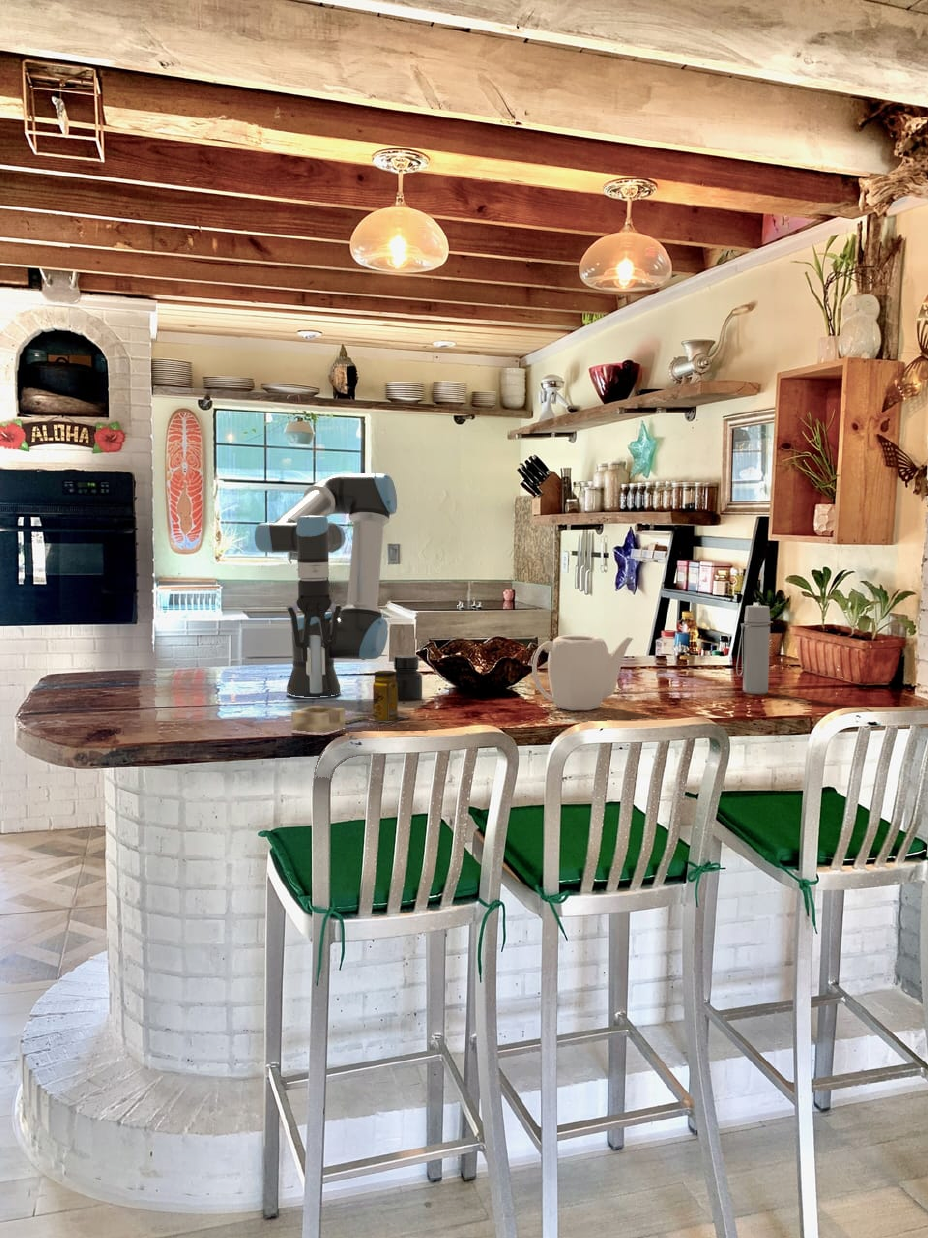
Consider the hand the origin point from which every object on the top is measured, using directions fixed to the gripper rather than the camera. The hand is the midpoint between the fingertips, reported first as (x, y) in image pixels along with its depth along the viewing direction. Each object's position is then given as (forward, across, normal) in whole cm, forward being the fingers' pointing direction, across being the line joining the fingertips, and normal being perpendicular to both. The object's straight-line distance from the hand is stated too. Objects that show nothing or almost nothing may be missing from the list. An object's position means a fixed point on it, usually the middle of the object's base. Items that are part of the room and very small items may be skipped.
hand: (315, 674), depth 238 cm
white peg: (+5, 0, 0) cm, 5 cm away
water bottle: (+13, +126, 0) cm, 127 cm away
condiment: (+12, +17, -4) cm, 21 cm away
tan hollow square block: (+11, -2, -14) cm, 18 cm away
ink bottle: (+13, +29, +21) cm, 38 cm away
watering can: (+13, +70, -6) cm, 71 cm away
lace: (+12, +7, -6) cm, 15 cm away
